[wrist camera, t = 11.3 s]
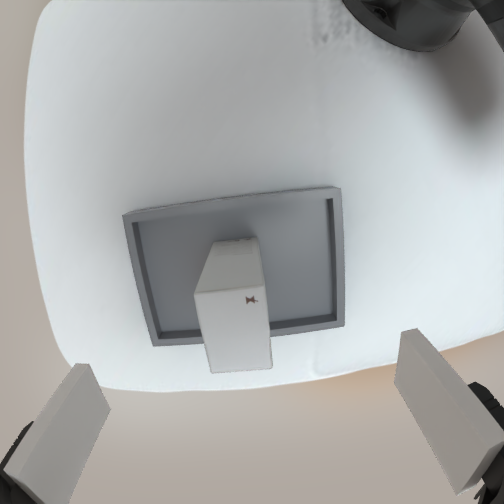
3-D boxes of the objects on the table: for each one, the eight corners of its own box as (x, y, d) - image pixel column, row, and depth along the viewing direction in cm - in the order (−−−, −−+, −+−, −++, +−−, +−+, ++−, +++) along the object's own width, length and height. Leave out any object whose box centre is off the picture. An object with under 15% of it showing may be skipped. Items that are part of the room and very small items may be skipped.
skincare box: (211, 241, 29) (191, 290, 17) (257, 235, 29) (267, 282, 17) (221, 300, 30) (209, 376, 19) (264, 296, 30) (275, 369, 19)
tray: (333, 186, 28) (340, 188, 26) (338, 316, 32) (344, 326, 30) (130, 211, 28) (122, 215, 26) (158, 335, 32) (153, 346, 30)
